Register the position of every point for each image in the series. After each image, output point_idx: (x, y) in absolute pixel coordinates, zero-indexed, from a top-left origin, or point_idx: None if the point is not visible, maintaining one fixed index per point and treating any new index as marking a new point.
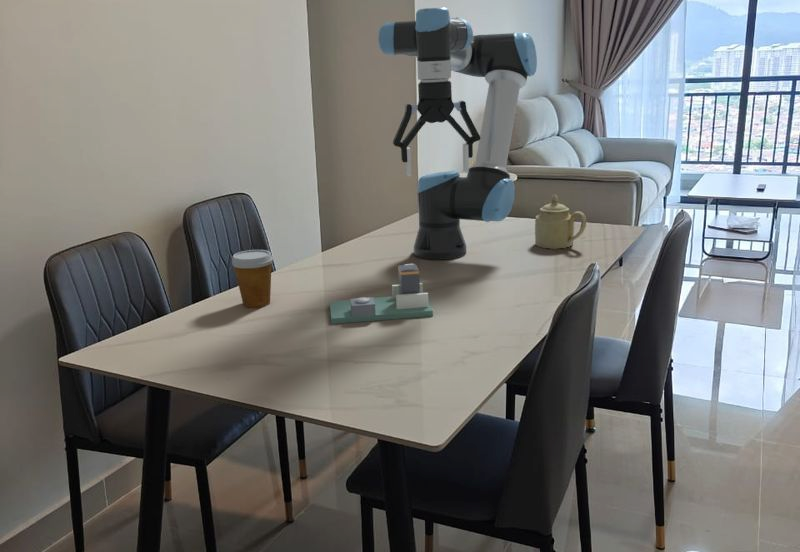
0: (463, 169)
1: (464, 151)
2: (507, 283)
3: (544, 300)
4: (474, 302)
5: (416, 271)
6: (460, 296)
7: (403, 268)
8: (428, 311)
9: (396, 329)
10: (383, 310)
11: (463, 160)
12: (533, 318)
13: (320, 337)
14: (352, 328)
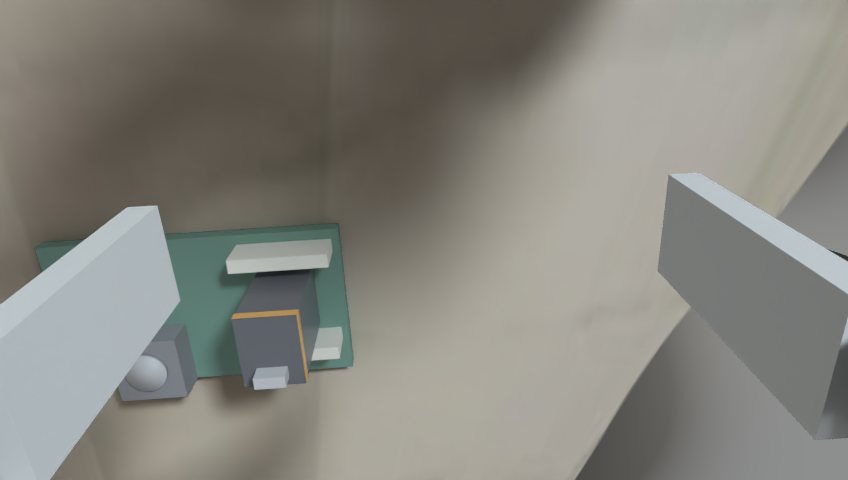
0: (674, 188)
1: (767, 344)
2: (631, 111)
3: (672, 288)
4: (480, 275)
5: (297, 382)
6: (451, 217)
7: (251, 357)
8: (340, 366)
9: (259, 427)
10: (216, 347)
11: (716, 230)
12: (592, 403)
13: (79, 450)
14: (148, 409)
